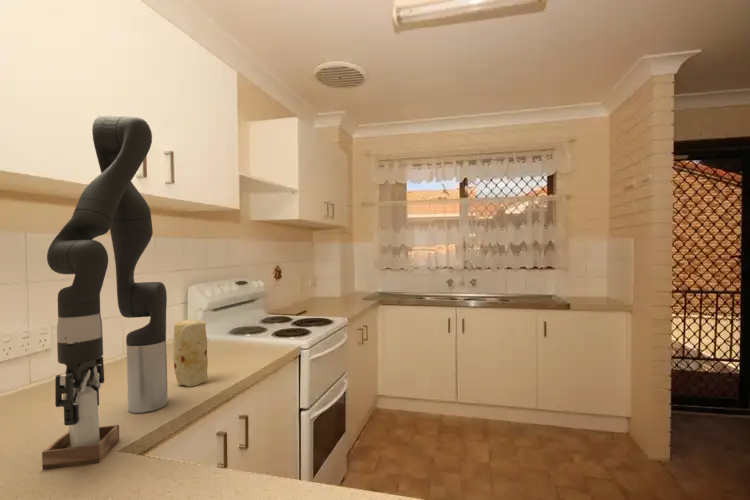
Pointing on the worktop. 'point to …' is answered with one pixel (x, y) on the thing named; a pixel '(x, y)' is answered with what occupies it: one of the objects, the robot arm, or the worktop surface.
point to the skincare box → (86, 421)
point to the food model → (190, 352)
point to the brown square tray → (79, 450)
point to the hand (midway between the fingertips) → (82, 415)
